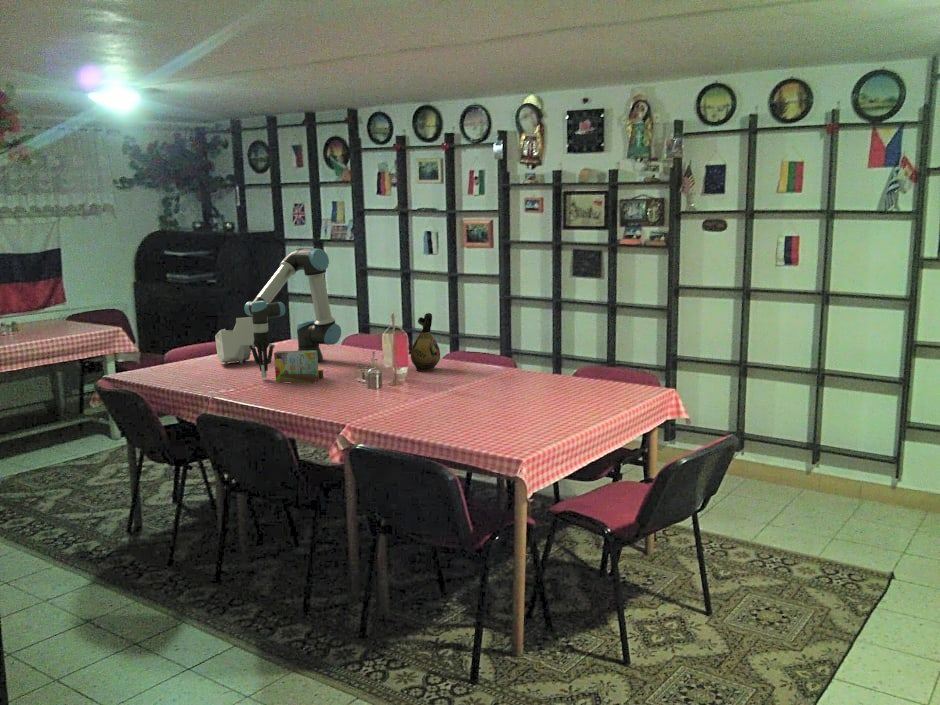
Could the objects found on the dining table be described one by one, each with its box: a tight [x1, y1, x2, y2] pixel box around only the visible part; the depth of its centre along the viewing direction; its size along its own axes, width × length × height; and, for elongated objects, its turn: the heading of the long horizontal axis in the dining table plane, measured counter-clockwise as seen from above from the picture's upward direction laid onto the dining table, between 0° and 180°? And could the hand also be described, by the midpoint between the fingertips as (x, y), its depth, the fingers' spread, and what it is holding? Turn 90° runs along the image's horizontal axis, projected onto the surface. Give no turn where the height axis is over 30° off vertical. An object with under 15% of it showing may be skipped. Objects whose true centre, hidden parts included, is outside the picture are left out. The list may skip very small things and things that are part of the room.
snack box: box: [273, 350, 320, 382], centre depth 425 cm, size 21×6×15 cm, turn 84°
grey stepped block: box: [214, 316, 254, 365], centre depth 475 cm, size 20×16×25 cm
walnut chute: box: [279, 369, 324, 384], centre depth 426 cm, size 13×18×4 cm
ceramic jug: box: [410, 312, 441, 373], centre depth 441 cm, size 17×15×30 cm
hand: (264, 377), depth 429 cm, fingers closed
